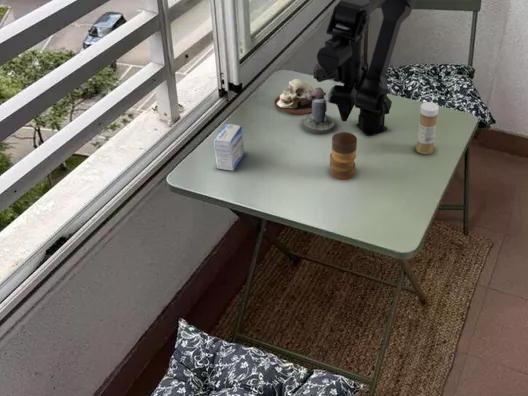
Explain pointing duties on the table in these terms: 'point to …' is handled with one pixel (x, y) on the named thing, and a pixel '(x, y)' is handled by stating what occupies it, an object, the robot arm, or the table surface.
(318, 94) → the figurine
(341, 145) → the walnut chip
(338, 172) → the chip pile
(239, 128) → the medicine box
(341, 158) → the oak chip
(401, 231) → the table surface
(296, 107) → the skull
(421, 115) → the sprinkles bottle
